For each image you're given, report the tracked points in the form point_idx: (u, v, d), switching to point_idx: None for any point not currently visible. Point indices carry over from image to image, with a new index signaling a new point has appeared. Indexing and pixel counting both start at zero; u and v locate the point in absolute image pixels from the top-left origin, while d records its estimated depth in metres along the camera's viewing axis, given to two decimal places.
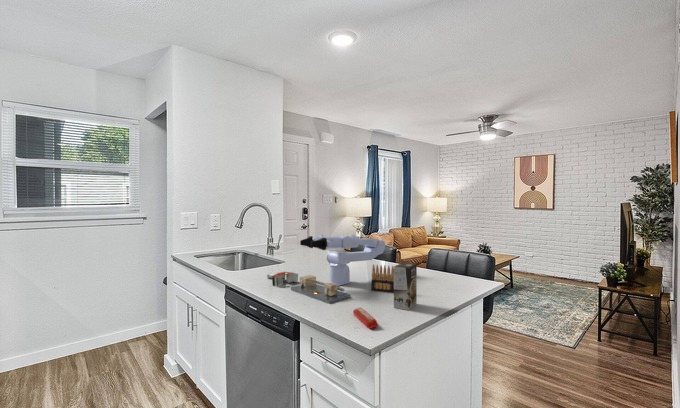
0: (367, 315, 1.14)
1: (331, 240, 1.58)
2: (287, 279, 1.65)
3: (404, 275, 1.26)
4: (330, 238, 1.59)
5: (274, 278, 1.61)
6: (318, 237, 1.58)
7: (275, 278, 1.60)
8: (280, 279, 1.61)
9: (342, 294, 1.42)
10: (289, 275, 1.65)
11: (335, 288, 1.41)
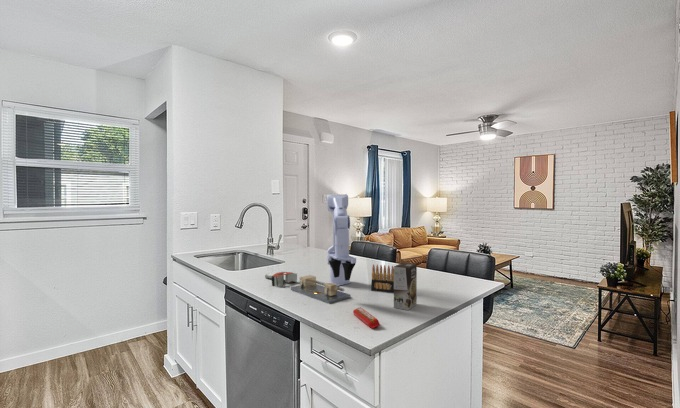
0: (368, 315, 1.14)
1: (343, 247, 1.34)
2: (286, 279, 1.65)
3: (404, 275, 1.26)
4: (341, 247, 1.34)
5: (274, 278, 1.61)
6: None
7: (275, 278, 1.60)
8: (280, 279, 1.61)
9: (342, 294, 1.42)
10: (288, 275, 1.65)
11: (335, 288, 1.41)
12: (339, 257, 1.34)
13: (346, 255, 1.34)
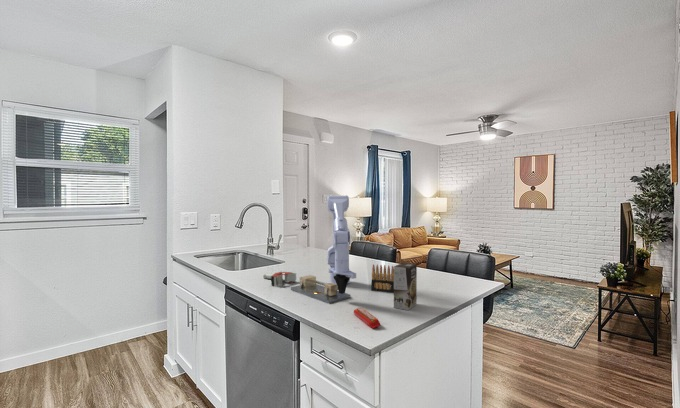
0: (369, 315, 1.14)
1: (344, 262, 1.34)
2: (286, 279, 1.65)
3: (404, 275, 1.26)
4: (341, 262, 1.34)
5: (273, 278, 1.61)
6: None
7: (274, 278, 1.60)
8: (279, 279, 1.61)
9: (342, 294, 1.42)
10: (288, 275, 1.65)
11: (335, 288, 1.41)
12: (339, 272, 1.34)
13: (346, 270, 1.35)
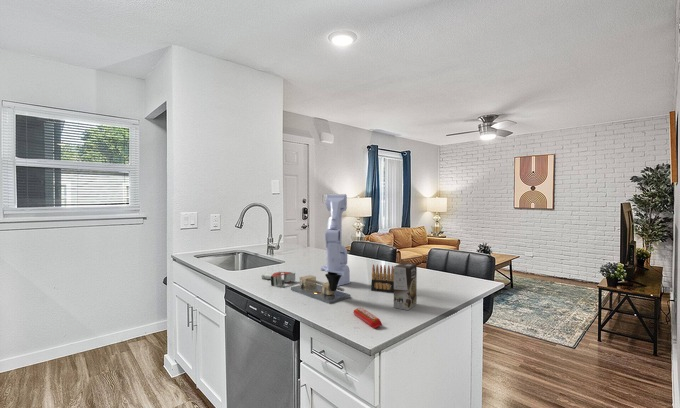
0: (369, 315, 1.14)
1: (335, 260, 1.38)
2: (285, 279, 1.66)
3: (404, 275, 1.26)
4: (332, 260, 1.38)
5: (273, 278, 1.61)
6: None
7: (274, 278, 1.60)
8: (279, 279, 1.61)
9: (342, 294, 1.42)
10: (287, 275, 1.66)
11: None
12: (330, 270, 1.38)
13: (337, 268, 1.39)
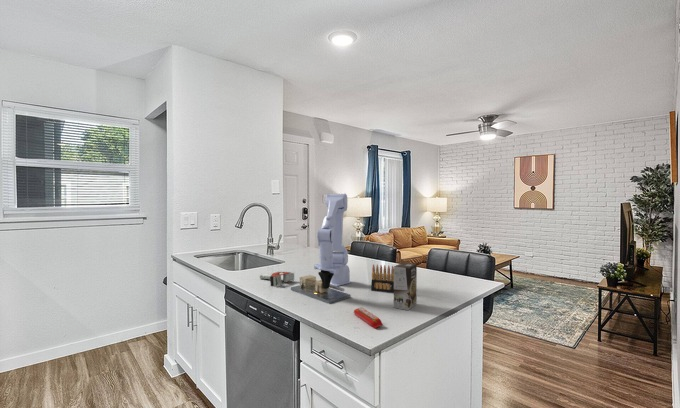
0: (370, 314, 1.14)
1: (327, 259, 1.41)
2: (284, 279, 1.66)
3: (404, 275, 1.26)
4: (325, 259, 1.41)
5: (273, 278, 1.61)
6: None
7: (274, 278, 1.60)
8: (279, 279, 1.61)
9: (342, 294, 1.42)
10: (286, 274, 1.66)
11: None
12: (323, 268, 1.41)
13: (330, 266, 1.42)
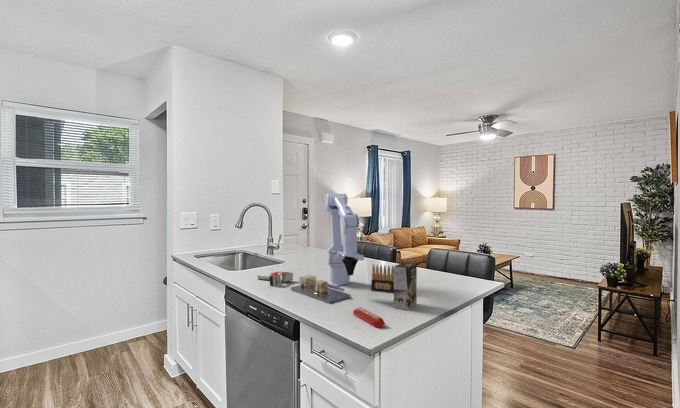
0: (371, 314, 1.15)
1: (352, 245, 1.40)
2: (283, 278, 1.66)
3: (404, 275, 1.26)
4: (349, 245, 1.40)
5: (272, 278, 1.61)
6: None
7: (273, 278, 1.60)
8: (278, 279, 1.61)
9: (342, 294, 1.42)
10: (285, 274, 1.66)
11: (325, 285, 1.46)
12: (347, 254, 1.40)
13: (354, 252, 1.40)
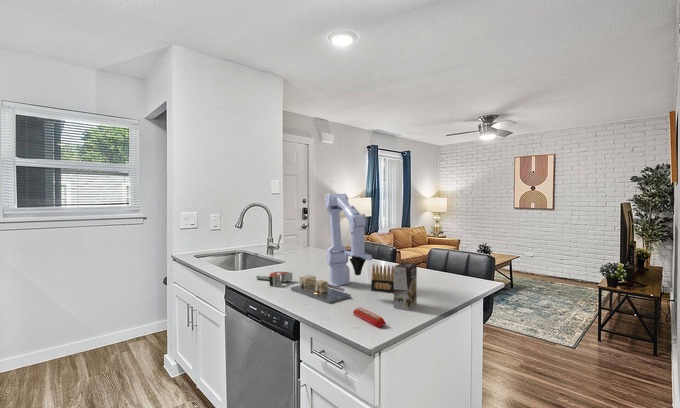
0: (372, 314, 1.15)
1: (360, 245, 1.40)
2: (283, 278, 1.66)
3: (404, 275, 1.26)
4: (357, 245, 1.40)
5: (272, 278, 1.61)
6: None
7: (273, 278, 1.60)
8: (278, 279, 1.61)
9: (342, 294, 1.42)
10: (285, 274, 1.66)
11: (325, 285, 1.46)
12: (355, 254, 1.40)
13: (362, 252, 1.41)
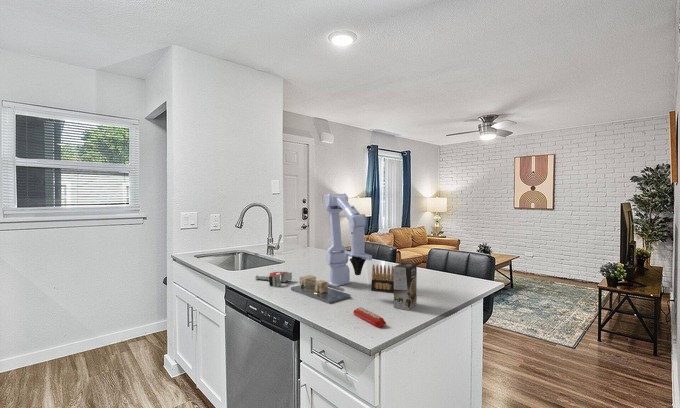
0: (372, 314, 1.15)
1: (360, 245, 1.40)
2: (282, 278, 1.66)
3: (404, 275, 1.26)
4: (357, 245, 1.40)
5: (272, 278, 1.61)
6: None
7: (273, 278, 1.60)
8: (278, 279, 1.61)
9: (342, 294, 1.42)
10: (284, 274, 1.66)
11: (325, 285, 1.46)
12: (355, 254, 1.40)
13: (362, 252, 1.41)
